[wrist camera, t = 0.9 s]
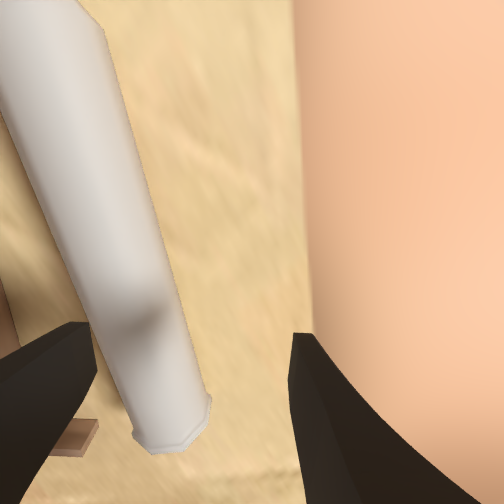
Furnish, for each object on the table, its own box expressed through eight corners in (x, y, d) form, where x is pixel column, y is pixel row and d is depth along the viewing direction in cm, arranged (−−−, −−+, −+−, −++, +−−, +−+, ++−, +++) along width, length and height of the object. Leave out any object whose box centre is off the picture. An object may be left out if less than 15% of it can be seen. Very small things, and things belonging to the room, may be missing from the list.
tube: (-98, -24, 11) (119, 446, 20) (-7, -87, 9) (187, 465, 18) (39, 18, 16) (165, 384, 24) (118, -17, 14) (223, 394, 22)
